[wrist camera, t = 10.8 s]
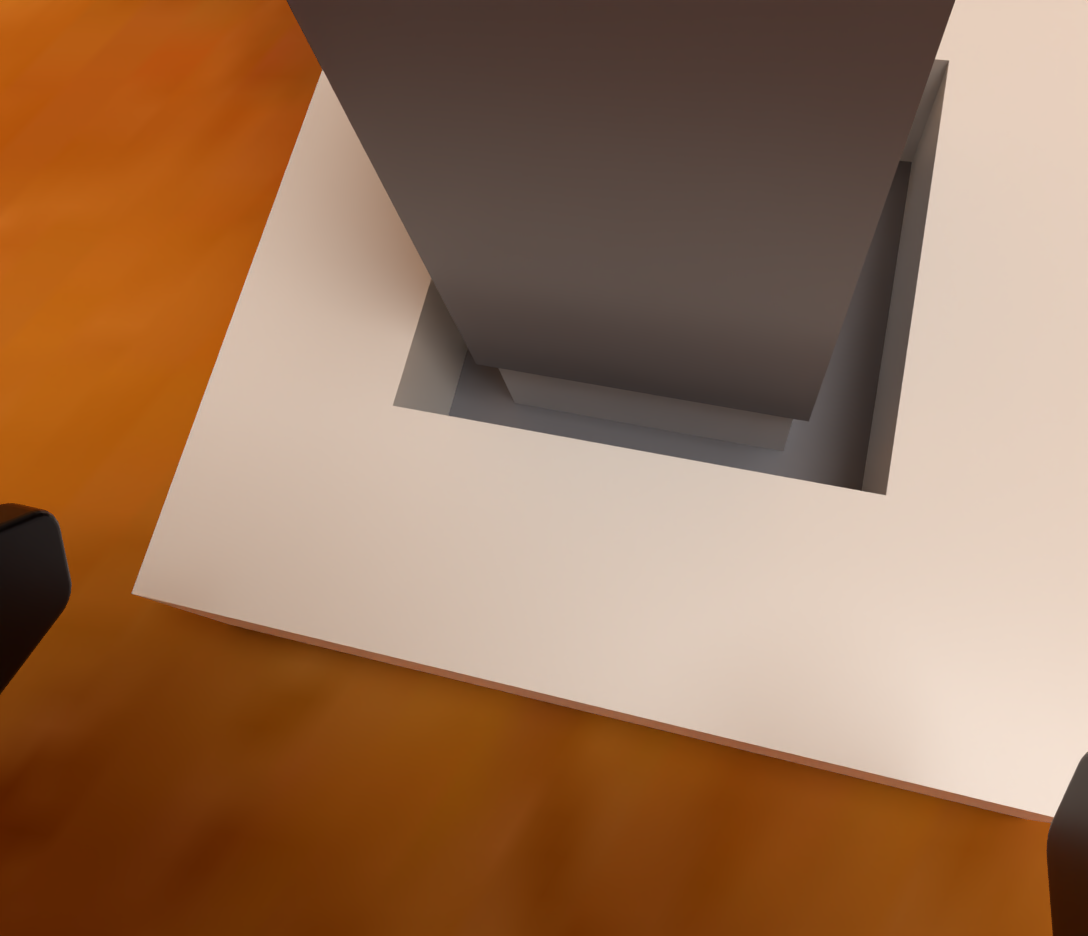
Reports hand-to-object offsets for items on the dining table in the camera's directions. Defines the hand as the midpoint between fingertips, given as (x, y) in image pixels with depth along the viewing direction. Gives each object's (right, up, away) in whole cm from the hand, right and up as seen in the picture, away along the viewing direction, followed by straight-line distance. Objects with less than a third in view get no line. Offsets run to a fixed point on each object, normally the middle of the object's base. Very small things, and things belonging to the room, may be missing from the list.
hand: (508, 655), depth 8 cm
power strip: (+4, +8, +10) cm, 13 cm away
